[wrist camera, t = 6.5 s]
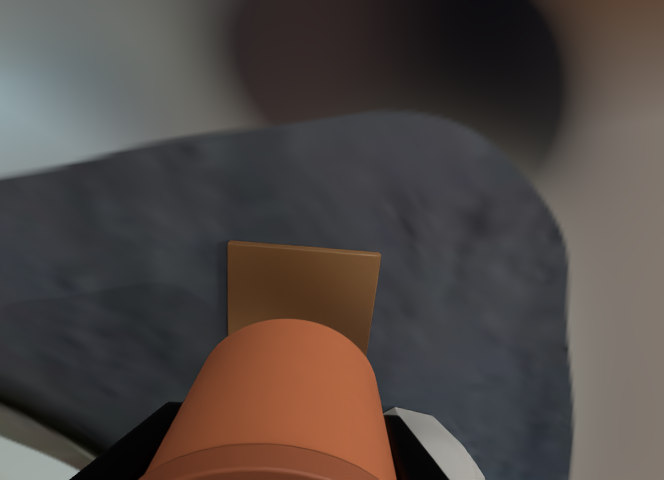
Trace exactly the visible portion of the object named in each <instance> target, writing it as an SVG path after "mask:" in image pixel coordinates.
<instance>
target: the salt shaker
mask: <svg viewBox="0 0 664 480" xmlns="http://www.w3.org/2000/svg"><path fill="white" fill-rule="evenodd" d="M385 414H389V415H398V416H400V417H401V418H402V419H403V421H404V422H405V423H406V425H407V426H408V427H409V428H410V430H411V431H412V432H413V433H414V435H415V436H416V437H417V439H418V440H419V441H420V442H421V444H422V445H423V446H424V447H425V449H426V450H427V451H428V453H429V454H430V455H431V456H432V458H433V459H434V460H435V462H436V463H437V464H438V465H439V467H440V468H441V469H442V470H443V472H444V473H445V474H446V476H447V477H448V478H449V479H450V480H485V477H484V476H483V474H482V473H481V471H480V470H479V468H478V466H477V465H476V463H475V462H474V461H473V459H472V458H471V456H470V455H469V454H468V452H467V451H466V449H465V448H464V447H463V445H462V444H461V443H460V442H459V441H458V440H457V439H456V438H455V437H453V436H452V435H451V434H450V433H449V432H448V431H447V430H446V429H445V428H444V427H443V426H442V425H441V424H440V423H439V422H438V421H437V420H436V419H435V418H434V417H433V416H431V415H426V414H422V413H418V412H414V411H410V410H405V409H401V408H397V407H394V408H392V409H390V410H388V411H387V412H385V413H383V415H385Z"/></svg>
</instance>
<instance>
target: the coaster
mask: <svg viewBox="0 0 664 480" xmlns="http://www.w3.org/2000/svg"><path fill="white" fill-rule="evenodd" d="M227 256H228V336H229V335H231V334H232V333H234V332H236V331H238V330H240V329H242V328H244V327H246V326H249V325H252V324H254V323H257V322H262V321H266V320H274V319H299V320H306V321H310V322H314V323H318V324H321V325H324V326H326V327H329V328H331V329H333V330H335V331H337V332H339V333H340V334H342V335H343V336H345V337H346V338H348V339H349V340H350V341H351V342H353V343H354V344H355V345H356V346H357V347H358V348H359V349H360V350H361V352H362V353H363V354H364V355H365V356H366V355H367V348H368V342H369V335H370V328H371V322H372V315H373V308H374V301H375V295H376V288H377V281H378V274H379V268H380V261H381V255H380V253H379V252H367V251H355V250H343V249H330V248H318V247H306V246H294V245H282V244H269V243H257V242H245V241H233V240H231V241H229V243H228V244H227Z"/></svg>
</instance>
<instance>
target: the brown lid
mask: <svg viewBox="0 0 664 480" xmlns="http://www.w3.org/2000/svg"><path fill="white" fill-rule="evenodd" d="M138 480H397V478H396V473H395V469H394V464H393V459H392V454H391V449H390V445H389V440H388V435H387V430H386V425H385V421H384V416H383V411H382V406H381V401H380V397H379V392H378V387H377V382H376V378H375V374H374V372H373V369H372V367H371V365H370V363H369V361H368V360H367V358H366V356H365V355H364V354H363V353H362V352H361V350H360V349H359V348H358V347H357V346H356V345H355V344H354V343H353V342H351V341H350V340H349V339H348V338H346V337H345V336H343V335H342V334H340V333H339V332H337V331H335V330H333V329H331V328H329V327H326V326H324V325H321V324H318V323H314V322H310V321H306V320H299V319H274V320H266V321H262V322H257V323H254V324H252V325H249V326H246V327H244V328H242V329H240V330H238V331H236V332H234V333H232V334H231V335H229V336H228V337H226V338H225V339H224V340H223V341H222V342H220V343H219V344H218V345H217V346H216V347H215V349H214V350H213V351H212V352H211V353H210V355H209V356H208V358H207V360H206V361H205V363H204V365H203V367H202V369H201V370H200V372H199V374H198V376H197V378H196V380H195V382H194V383H193V385H192V387H191V389H190V391H189V393H188V395H187V396H186V398H185V400H184V402H183V404H182V406H181V408H180V409H179V411H178V413H177V415H176V417H175V419H174V421H173V422H172V424H171V426H170V428H169V430H168V432H167V434H166V435H165V437H164V439H163V441H162V443H161V445H160V447H159V448H158V450H157V452H156V454H155V456H154V458H153V460H152V461H151V463H150V465H149V467H148V469H147V471H146V472H145V474H144V475H143V476H142V477H141V478H139V479H138Z"/></svg>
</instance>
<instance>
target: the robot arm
mask: <svg viewBox="0 0 664 480" xmlns="http://www.w3.org/2000/svg"><path fill="white" fill-rule="evenodd" d="M182 404H183V403H182V402H168V403H166V404H165V405H163V406H162V407H161V408H159V409H158V410H157V411H156V412H154V413H153V414H152V415H151V416H149V417H148V418H147V419H146V420H144V421H143V422H142V423H140V424H139V425H138V426H137V427H135V428H134V429H133V430H132V431H130V432H129V433H128V434H127V435H125V436H124V437H123V438H121V439H120V440H119V441H118V442H116V443H115V444H114V445H113V446H111V447H110V448H109V449H108V450H106V451H105V452H104V453H102V454H101V455H100V456H99V457H97V458H96V459H95V460H94V461H92V462H91V463H90V464H89V465H87V466H86V467H85V468H83V469H82V470H81V471H80V472H78V473H77V474H76V475H75V476H73V477H72V478H71V479H70V480H138V479H139V478H141V477H142V476H143V475H144V474H145V472H146V471H147V469H148V467H149V465H150V463H151V461H152V460H153V458H154V456H155V454H156V452H157V450H158V448H159V447H160V445H161V443H162V441H163V439H164V437H165V435H166V434H167V432H168V430H169V428H170V426H171V424H172V422H173V421H174V419H175V417H176V415H177V413H178V411H179V409H180V408H181V406H182ZM383 416H384V421H385V425H386V430H387V435H388V440H389V445H390V449H391V454H392V459H393V464H394V469H395V473H396V478H397V480H450V479H449V478H448V477H447V476H446V474H445V473H444V472H443V470H442V469H441V468H440V467H439V465H438V464H437V463H436V462H435V460H434V459H433V458H432V456H431V455H430V454H429V453H428V451H427V450H426V449H425V447H424V446H423V445H422V444H421V442H420V441H419V440H418V439H417V437H416V436H415V435H414V433H413V432H412V431H411V430H410V428H409V427H408V426H407V425H406V423H405V422H404V421H403V419H402V418H401V417H400V416H398V415H389V414H385V415H383Z"/></svg>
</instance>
